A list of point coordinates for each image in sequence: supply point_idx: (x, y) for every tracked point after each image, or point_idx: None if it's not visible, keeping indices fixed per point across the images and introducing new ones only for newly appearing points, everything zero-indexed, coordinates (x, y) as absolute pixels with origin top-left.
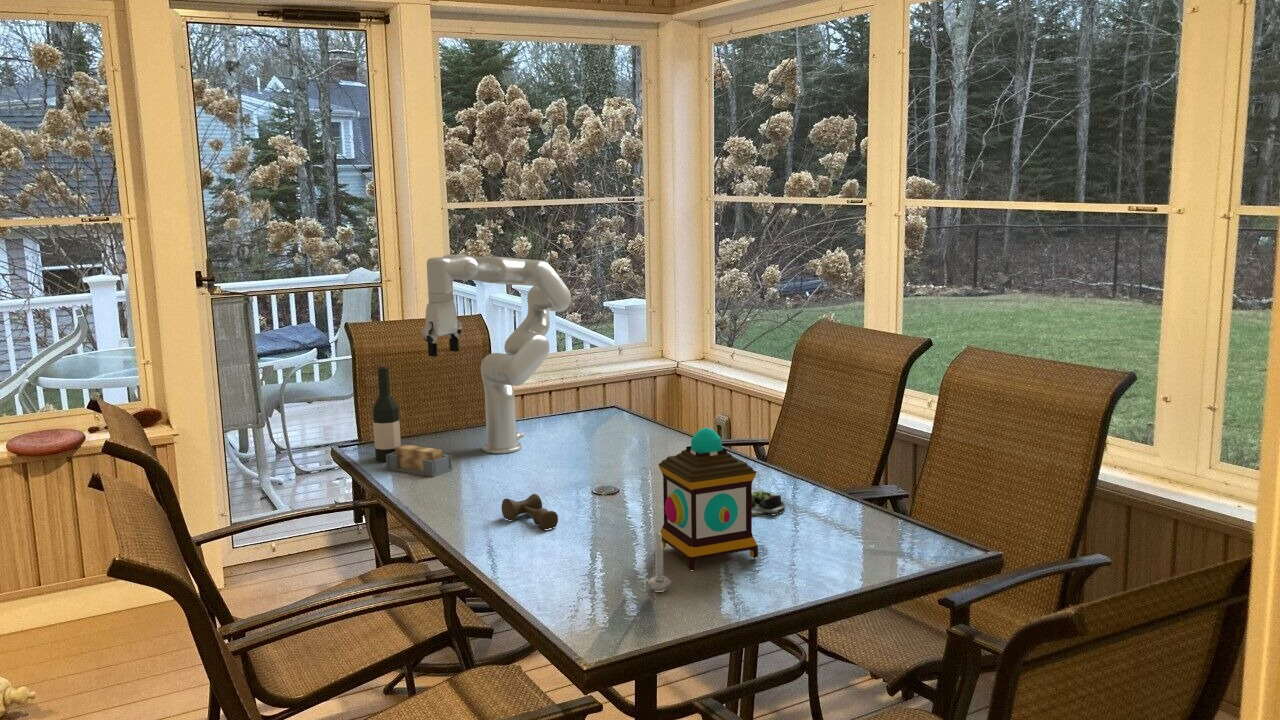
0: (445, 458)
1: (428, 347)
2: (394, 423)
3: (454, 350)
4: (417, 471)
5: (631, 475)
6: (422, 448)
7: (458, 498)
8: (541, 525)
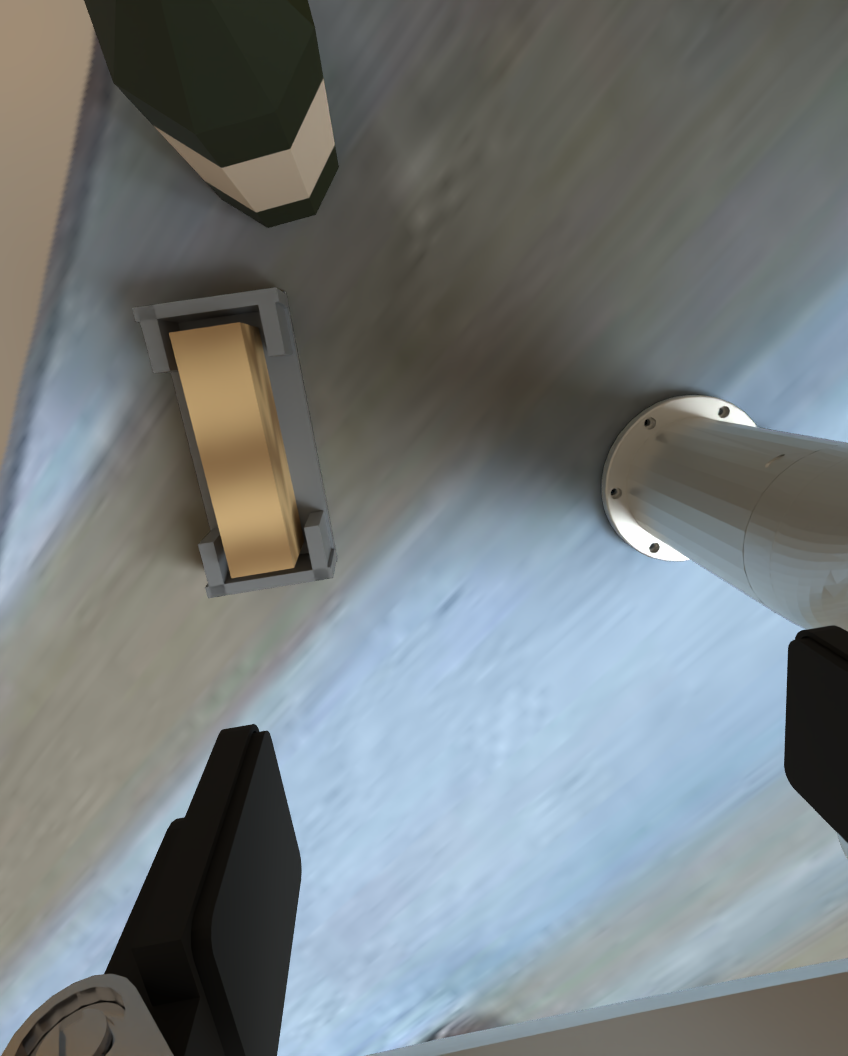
0: (295, 582)
1: (134, 911)
2: (237, 167)
3: (795, 736)
4: None
5: None
6: (248, 475)
7: (128, 830)
8: None
